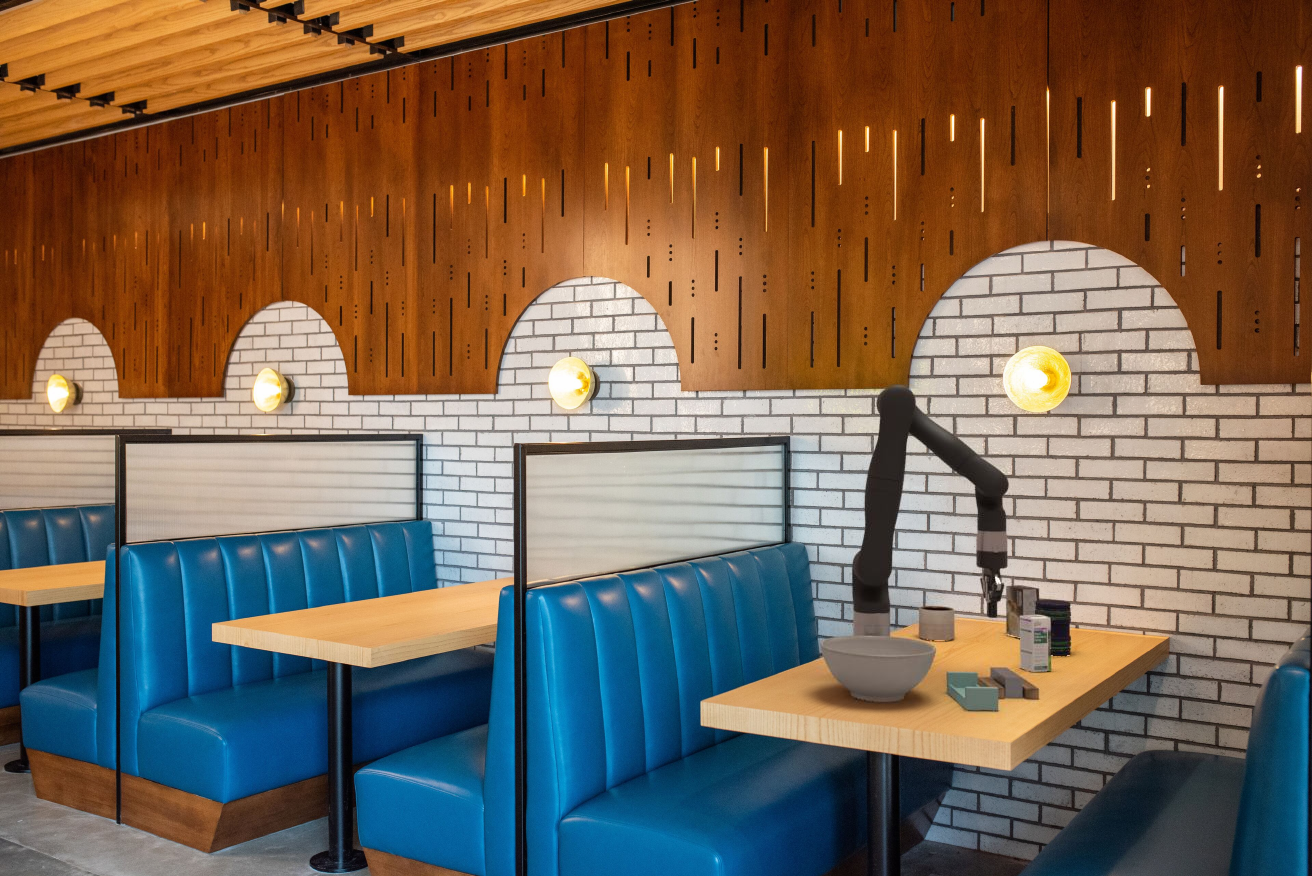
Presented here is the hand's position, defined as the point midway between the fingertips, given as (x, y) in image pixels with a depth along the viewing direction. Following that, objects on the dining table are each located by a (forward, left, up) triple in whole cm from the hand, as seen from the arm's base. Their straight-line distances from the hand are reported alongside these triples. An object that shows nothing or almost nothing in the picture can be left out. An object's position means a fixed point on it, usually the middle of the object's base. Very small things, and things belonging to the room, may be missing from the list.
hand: (992, 617), depth 260 cm
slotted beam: (0, -12, -16) cm, 21 cm away
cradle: (-11, -21, -16) cm, 29 cm away
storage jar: (+29, +40, -17) cm, 52 cm away
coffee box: (+29, +67, -17) cm, 74 cm away
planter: (+1, +63, -17) cm, 65 cm away
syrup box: (+16, +16, -17) cm, 28 cm away
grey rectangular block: (0, -11, -17) cm, 20 cm away
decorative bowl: (-32, -17, -17) cm, 40 cm away
